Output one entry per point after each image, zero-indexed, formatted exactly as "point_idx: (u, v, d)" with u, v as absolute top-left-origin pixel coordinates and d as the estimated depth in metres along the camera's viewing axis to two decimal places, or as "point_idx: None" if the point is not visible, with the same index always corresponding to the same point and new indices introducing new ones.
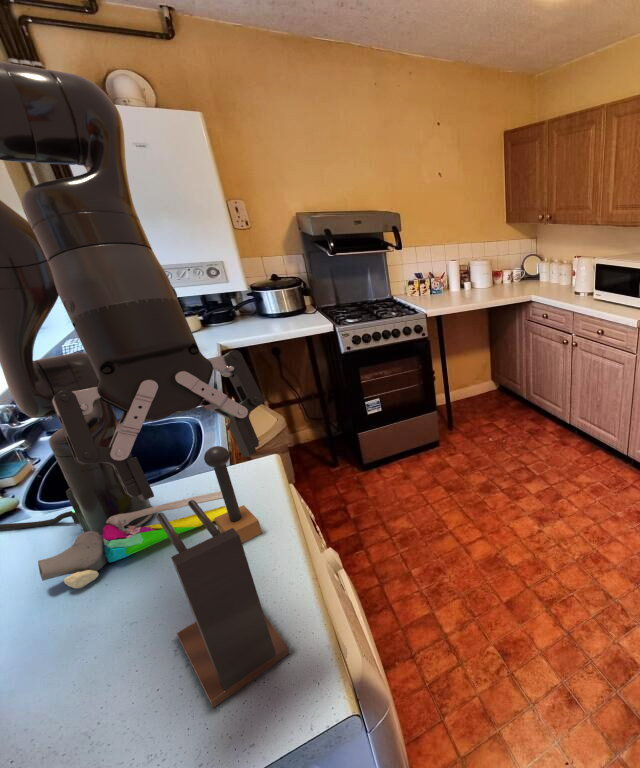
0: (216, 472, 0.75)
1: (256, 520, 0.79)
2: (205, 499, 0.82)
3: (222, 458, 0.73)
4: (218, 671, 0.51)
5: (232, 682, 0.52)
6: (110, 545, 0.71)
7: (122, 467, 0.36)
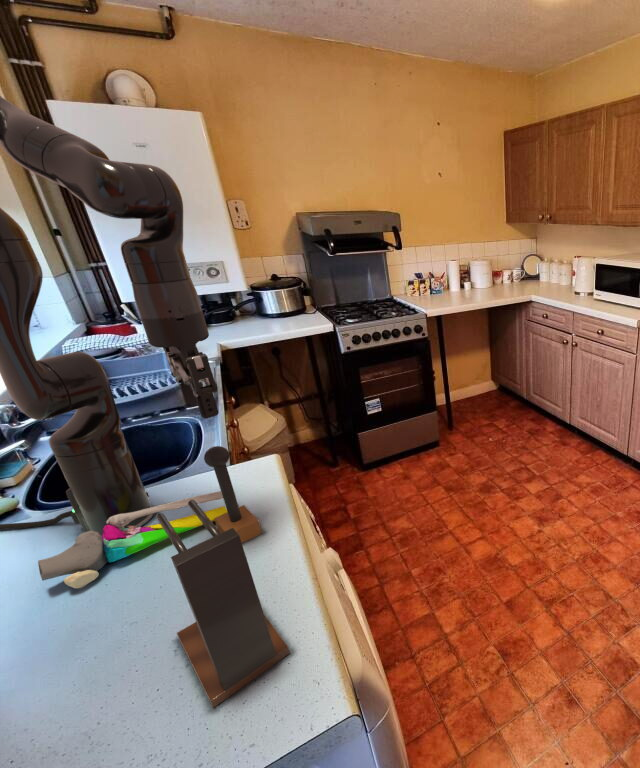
0: (216, 472, 0.75)
1: (256, 520, 0.79)
2: (205, 499, 0.82)
3: (222, 458, 0.73)
4: (218, 671, 0.51)
5: (232, 682, 0.52)
6: (110, 545, 0.71)
7: None
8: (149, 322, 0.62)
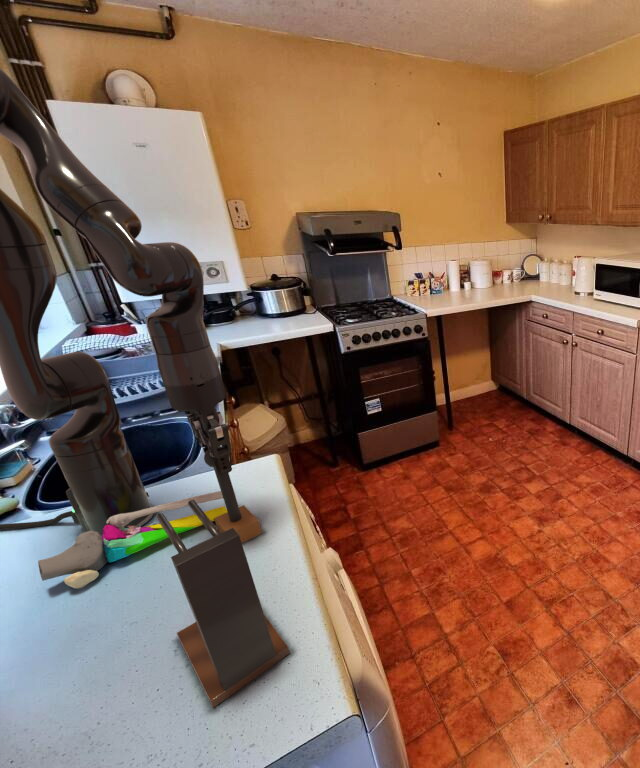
0: None
1: (256, 520, 0.79)
2: (205, 499, 0.82)
3: None
4: (218, 671, 0.51)
5: (232, 682, 0.52)
6: (110, 545, 0.71)
7: None
8: (171, 389, 0.66)
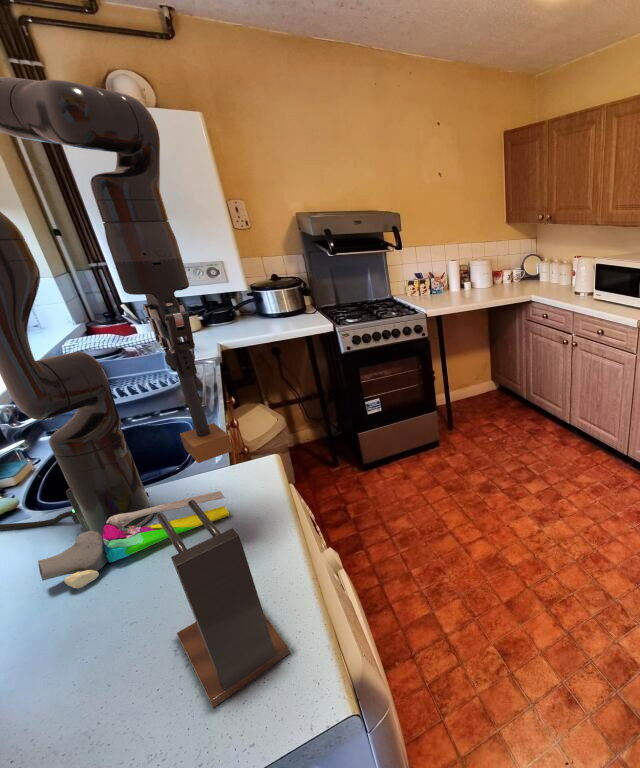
0: None
1: (226, 435, 0.70)
2: (205, 499, 0.82)
3: None
4: (218, 671, 0.51)
5: (232, 682, 0.52)
6: (110, 545, 0.71)
7: None
8: (122, 266, 0.58)
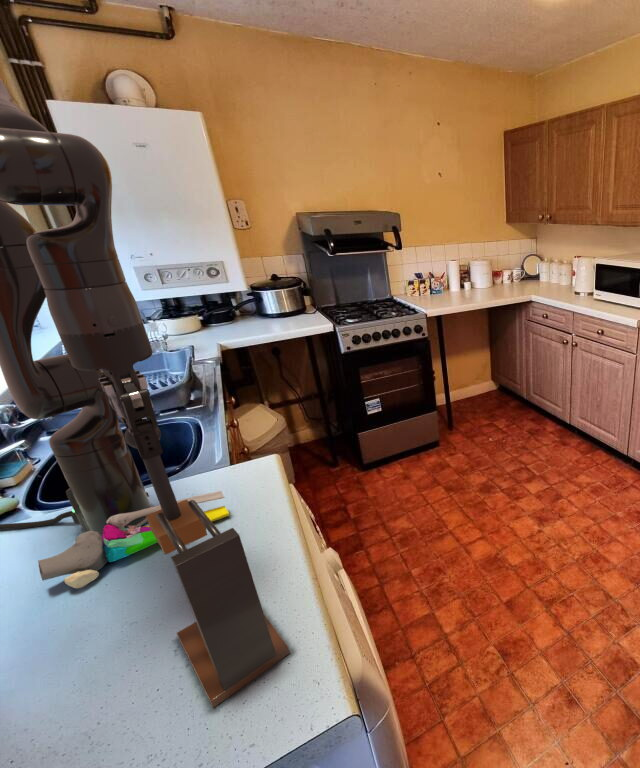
0: None
1: None
2: (205, 499, 0.82)
3: None
4: (218, 671, 0.51)
5: (232, 682, 0.52)
6: (110, 545, 0.71)
7: (152, 433, 0.55)
8: (68, 339, 0.48)
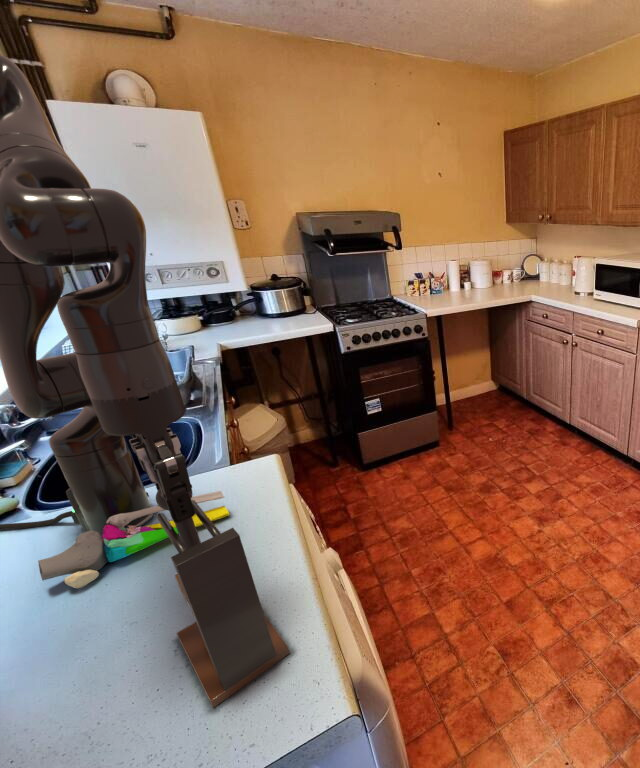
0: None
1: None
2: (205, 499, 0.82)
3: None
4: (218, 671, 0.51)
5: (232, 682, 0.52)
6: (110, 545, 0.71)
7: None
8: (100, 404, 0.45)
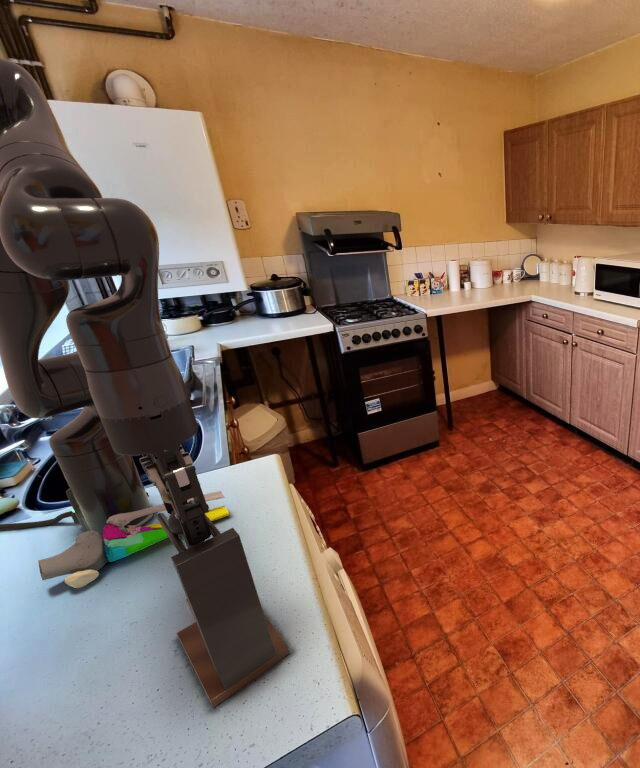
0: (186, 541, 0.52)
1: None
2: (205, 499, 0.82)
3: None
4: (218, 671, 0.51)
5: (232, 682, 0.52)
6: (110, 545, 0.71)
7: None
8: (110, 424, 0.43)
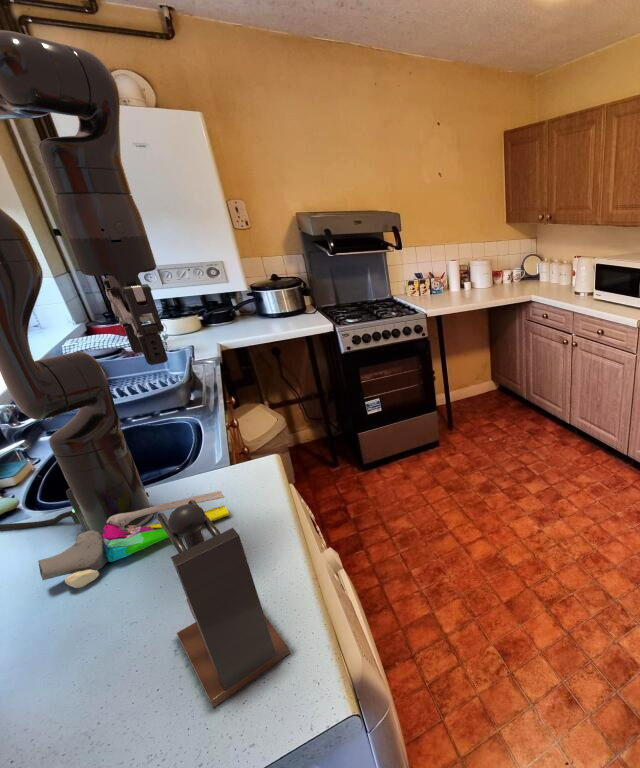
0: (186, 541, 0.52)
1: None
2: (205, 498, 0.82)
3: (194, 523, 0.51)
4: (218, 671, 0.51)
5: (232, 682, 0.52)
6: (110, 545, 0.71)
7: None
8: (77, 243, 0.52)
